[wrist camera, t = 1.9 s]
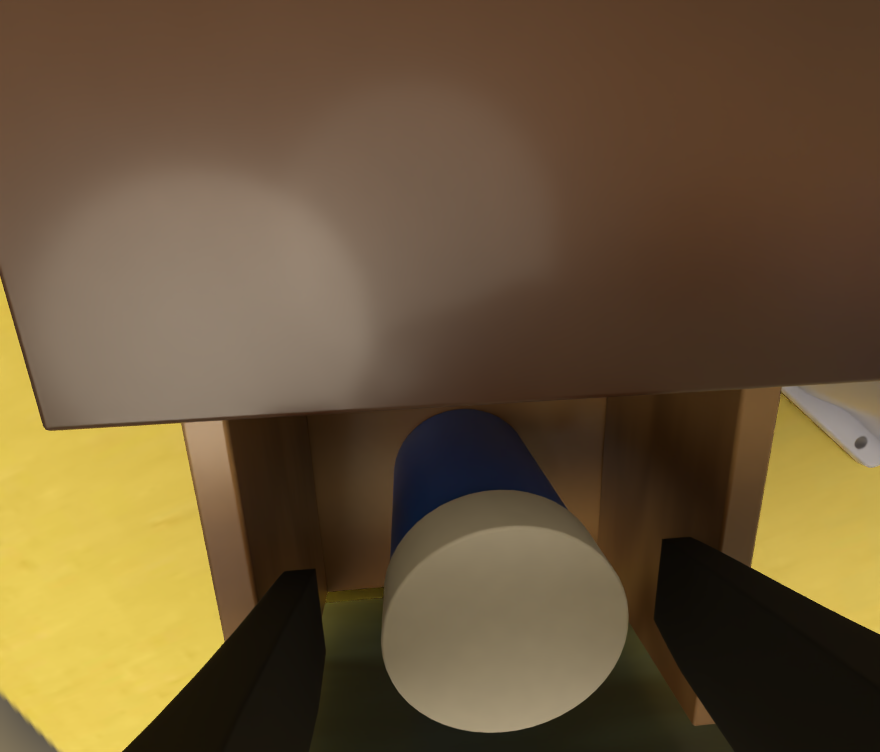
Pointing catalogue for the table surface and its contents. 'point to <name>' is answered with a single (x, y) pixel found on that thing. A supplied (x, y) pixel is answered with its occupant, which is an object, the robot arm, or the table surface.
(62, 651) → the table surface
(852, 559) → the table surface
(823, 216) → the cabinet
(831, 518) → the table surface
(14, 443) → the table surface
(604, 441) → the drawer
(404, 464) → the medicine bottle
